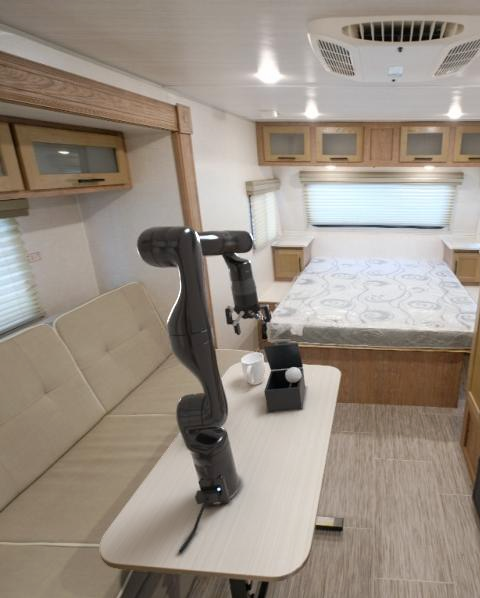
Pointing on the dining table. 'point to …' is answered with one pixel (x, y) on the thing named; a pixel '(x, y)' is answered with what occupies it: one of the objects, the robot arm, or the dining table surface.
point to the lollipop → (293, 375)
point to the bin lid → (283, 355)
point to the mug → (253, 367)
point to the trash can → (284, 392)
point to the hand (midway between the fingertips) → (251, 333)
